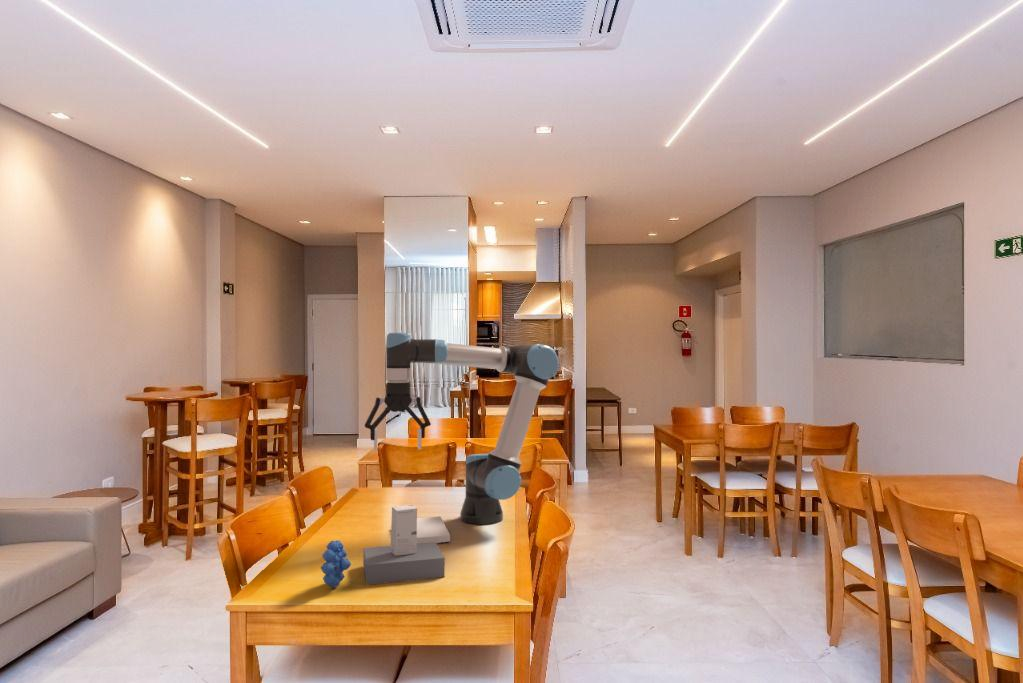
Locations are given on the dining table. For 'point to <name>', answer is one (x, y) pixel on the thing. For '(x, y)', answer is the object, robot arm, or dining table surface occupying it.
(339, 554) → the grapes
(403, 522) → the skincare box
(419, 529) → the food packaging
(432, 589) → the dining table surface
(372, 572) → the block
